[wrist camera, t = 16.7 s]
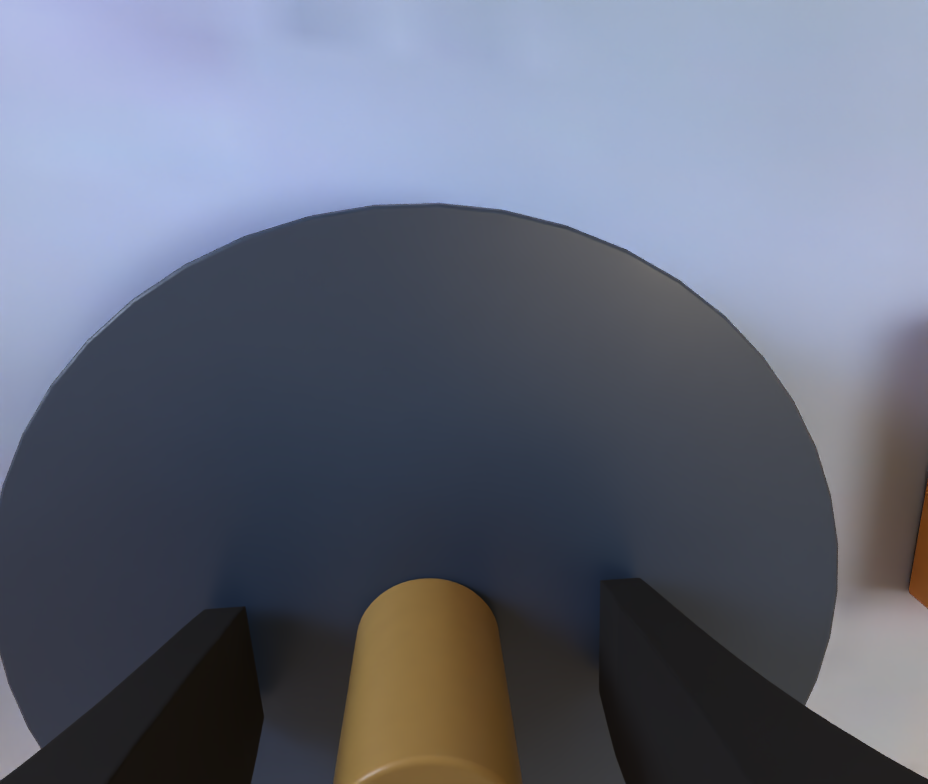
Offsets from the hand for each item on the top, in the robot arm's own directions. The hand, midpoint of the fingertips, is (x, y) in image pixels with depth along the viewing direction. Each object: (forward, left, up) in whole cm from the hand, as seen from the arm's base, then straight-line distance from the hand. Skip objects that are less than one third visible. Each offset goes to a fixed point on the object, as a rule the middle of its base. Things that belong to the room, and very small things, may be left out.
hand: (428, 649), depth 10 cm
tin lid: (0, 0, -1) cm, 1 cm away
